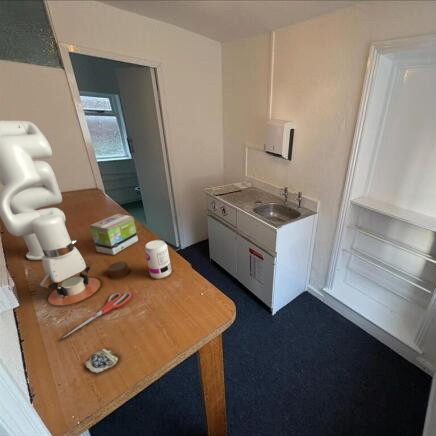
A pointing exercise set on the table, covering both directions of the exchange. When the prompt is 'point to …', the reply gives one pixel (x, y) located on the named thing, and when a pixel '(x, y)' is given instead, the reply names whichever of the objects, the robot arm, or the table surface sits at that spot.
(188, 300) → the table surface
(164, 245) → the supplement can
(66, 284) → the cylinder
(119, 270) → the cylinder
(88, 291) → the plate
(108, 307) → the scissors
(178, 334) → the table surface
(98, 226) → the tea box
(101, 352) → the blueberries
